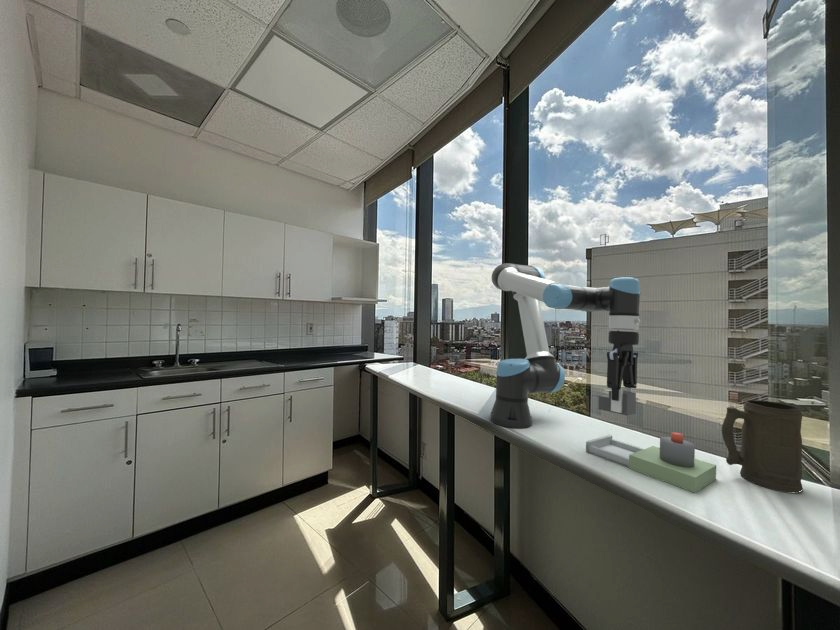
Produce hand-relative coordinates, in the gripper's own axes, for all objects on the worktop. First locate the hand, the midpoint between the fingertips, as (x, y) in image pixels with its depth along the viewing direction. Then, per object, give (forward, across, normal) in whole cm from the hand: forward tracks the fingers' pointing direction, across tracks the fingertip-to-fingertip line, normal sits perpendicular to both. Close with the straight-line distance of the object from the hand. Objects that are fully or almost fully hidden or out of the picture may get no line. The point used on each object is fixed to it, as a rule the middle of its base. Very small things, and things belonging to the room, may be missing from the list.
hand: (621, 410), depth 95 cm
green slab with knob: (+13, 0, -6) cm, 15 cm away
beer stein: (+13, +16, -25) cm, 33 cm away
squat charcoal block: (+1, 0, +1) cm, 1 cm away
